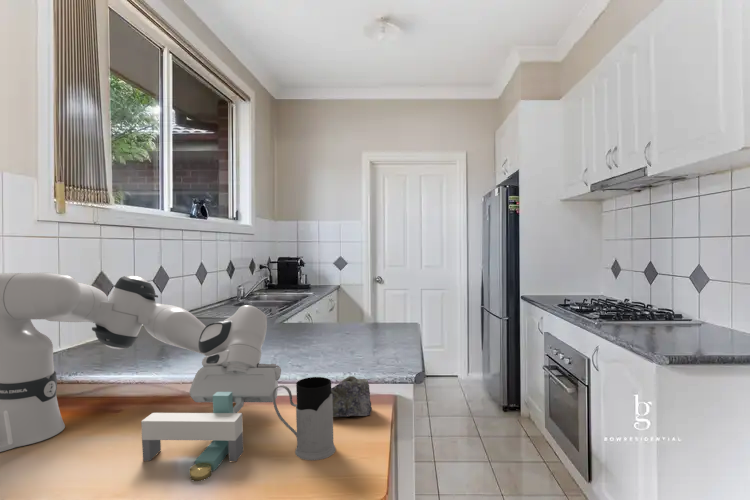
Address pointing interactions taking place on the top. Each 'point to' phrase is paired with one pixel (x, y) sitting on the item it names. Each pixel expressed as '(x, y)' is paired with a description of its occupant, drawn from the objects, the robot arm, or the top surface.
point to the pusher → (217, 447)
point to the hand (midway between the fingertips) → (227, 419)
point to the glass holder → (312, 418)
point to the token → (200, 471)
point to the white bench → (192, 430)
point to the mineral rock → (351, 398)
